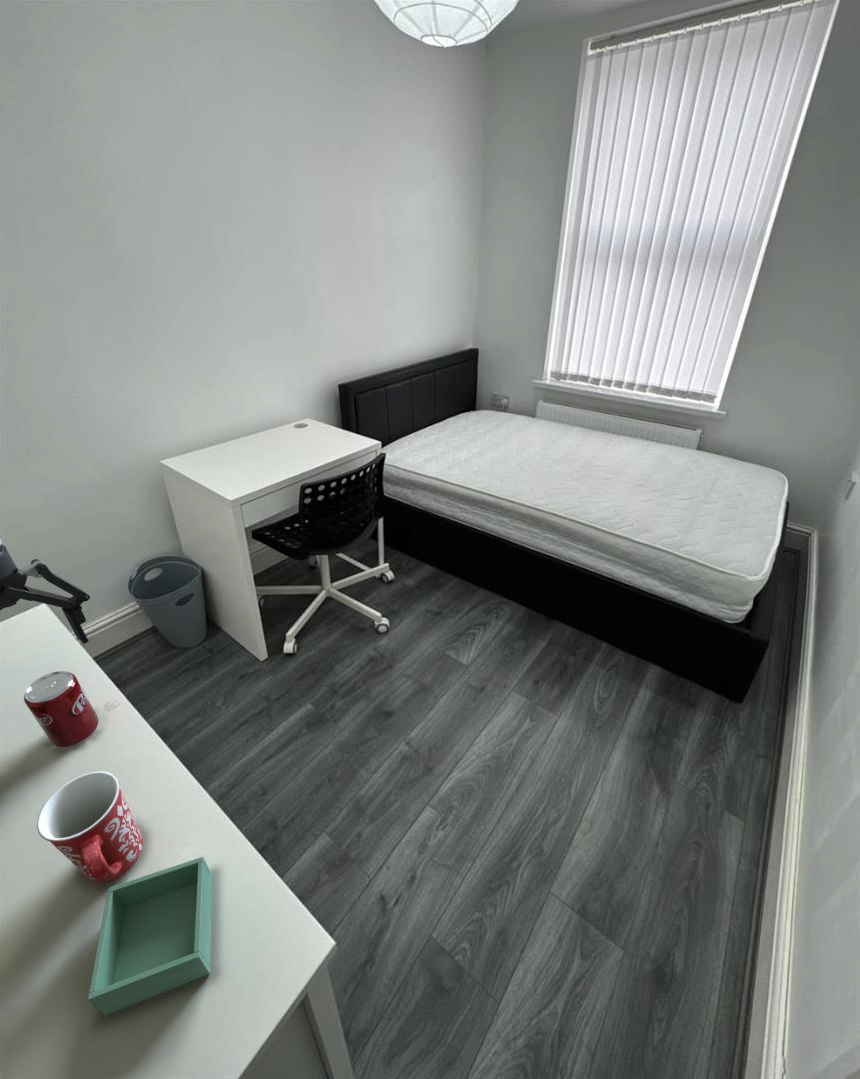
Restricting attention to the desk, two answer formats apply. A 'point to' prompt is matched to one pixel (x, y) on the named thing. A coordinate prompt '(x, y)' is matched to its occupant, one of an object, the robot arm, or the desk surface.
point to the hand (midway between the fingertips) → (37, 664)
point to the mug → (92, 826)
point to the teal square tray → (153, 936)
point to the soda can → (61, 708)
